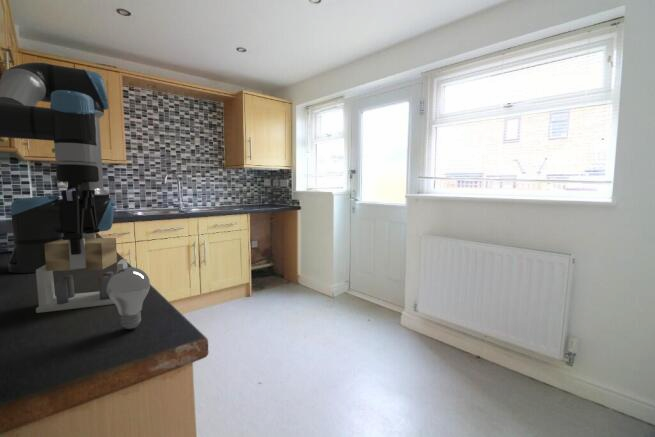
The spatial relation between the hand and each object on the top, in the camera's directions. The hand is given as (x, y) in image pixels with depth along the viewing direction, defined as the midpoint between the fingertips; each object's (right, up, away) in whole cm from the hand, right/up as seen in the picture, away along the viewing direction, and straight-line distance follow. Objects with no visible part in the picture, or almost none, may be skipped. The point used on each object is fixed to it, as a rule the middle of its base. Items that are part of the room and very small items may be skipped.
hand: (84, 263), depth 73 cm
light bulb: (+19, -11, -13) cm, 25 cm away
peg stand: (0, -9, +1) cm, 9 cm away
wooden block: (0, -1, 0) cm, 1 cm away
